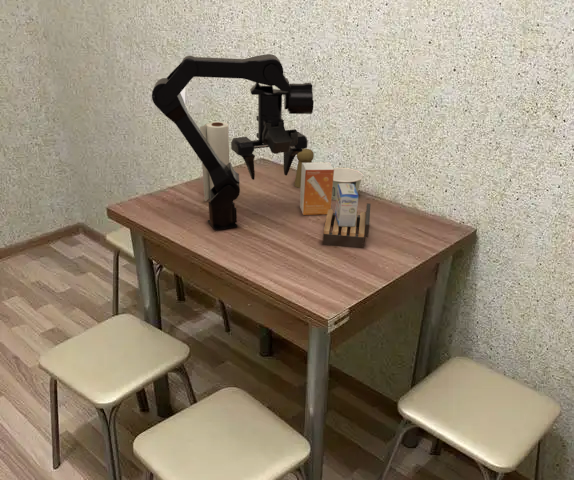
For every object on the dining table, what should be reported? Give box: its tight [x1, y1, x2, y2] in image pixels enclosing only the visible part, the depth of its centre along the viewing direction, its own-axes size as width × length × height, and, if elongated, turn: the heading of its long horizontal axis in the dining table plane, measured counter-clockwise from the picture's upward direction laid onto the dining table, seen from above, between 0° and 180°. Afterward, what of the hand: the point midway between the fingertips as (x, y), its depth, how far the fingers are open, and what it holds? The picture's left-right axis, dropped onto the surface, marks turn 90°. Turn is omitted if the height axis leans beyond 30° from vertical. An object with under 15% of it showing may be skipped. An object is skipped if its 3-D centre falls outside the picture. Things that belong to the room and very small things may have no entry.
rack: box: [322, 203, 372, 249], centre depth 150 cm, size 11×14×6 cm
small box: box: [299, 161, 334, 216], centre depth 161 cm, size 8×6×13 cm
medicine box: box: [334, 183, 359, 228], centre depth 147 cm, size 8×4×9 cm, turn 3°
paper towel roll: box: [199, 121, 230, 202], centre depth 164 cm, size 7×6×21 cm
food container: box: [332, 167, 364, 201], centre depth 173 cm, size 12×12×6 cm
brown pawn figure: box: [294, 148, 315, 189], centre depth 178 cm, size 6×6×11 cm
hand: (269, 177), depth 149 cm, fingers open, 9 cm apart
